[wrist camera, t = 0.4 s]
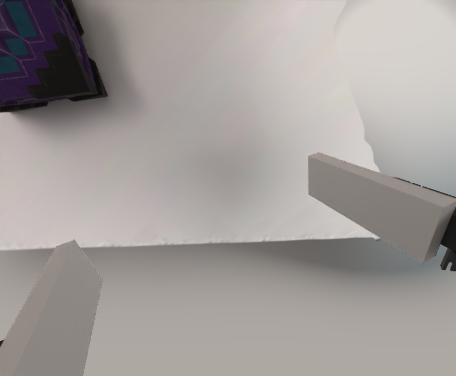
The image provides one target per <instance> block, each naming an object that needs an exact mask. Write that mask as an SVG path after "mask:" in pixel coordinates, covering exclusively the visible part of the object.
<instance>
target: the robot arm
mask: <svg viewBox="0 0 456 376" xmlns="http://www.w3.org/2000/svg"><path fill="white" fill-rule="evenodd" d="M308 172H309V195H311V196H312V197H314V198H316V199H317V200H319V201H320V202H322V203H324V204H325V205H327V206H329V207H330V208H332V209H334V210H335V211H337V212H339V213H340V214H342V215H344V216H345V217H347V218H349V219H350V220H352V221H353V222H355V223H357V224H358V225H360V226H362V227H363V228H365V229H367V230H368V231H370V232H372V233H373V234H375V235H377V236H378V237H380V238H382V239H383V240H385V241H386V242H388V243H390V244H392V245H393V246H395V247H396V248H398V249H400V250H401V251H403V252H405V253H406V254H408V255H410V256H411V257H413V258H415V259H416V260H418V261H419V262H421V263H424V262H426V261H428V260H429V259H431V258H432V257H434V256H436V254H437V251H438V249H439V246H440V244H441V245H443V246H445V247H447V248H448V249H447V251H446V254H445V256H444V258H443V261H442V263H441V265H440V266H441V269H442V270H446V268H447V265H448V263H449V262H452V266H451V268H450V270H451V271H456V197H454V196H451V195H448V194H445V193H442V192H439V191H436V190H433V189H430V188H427V187H424V186H423V187H421V186H420V185H418V184H415V183H410V182H409V181H405V180H403V179H400V178H395V177H390V176H387V175H384V174H381V173H378V172H375V171H372V170H369V169H366V168H363V167H360V166H357V165H354V164H351V163H348V162H345V161H342V160H339V159H336V158H334V157H331V156H328V155H325V154H322V153H316V154H313V155H310V156H308ZM102 281H103V278H102V277H101V275H100V274H99V273H98V271H97V270H96V268H95V267H94V266H93V264H92V263H91V262H90V261H89V259H88V258H87V256H86V255H85V254H84V252H83V251H82V249H81V248H80V247H79V245H78V244H77V243H76V241H75V240H73V241H70V242H67V243H65V244H62V245H59V246H56V248H55V250H54V251H53V253H52V255H51V257H50V258H49V260H48V262H47V264H46V266H45V267H44V269H43V271H42V273H41V275H40V277H39V278H38V280H37V282H36V284H35V285H34V287H33V289H32V291H31V293H30V295H29V296H28V298H27V300H26V302H25V304H24V305H23V307H22V309H21V311H20V313H19V315H18V316H17V318H16V320H15V322H14V323H13V325H12V327H11V329H10V331H9V332H8V334H7V336H6V338H5V340H2V341H0V376H83V373H84V368H85V363H86V358H87V354H88V348H89V344H90V339H91V334H92V330H93V325H94V320H95V315H96V310H97V305H98V300H99V296H100V290H101V286H102Z"/></svg>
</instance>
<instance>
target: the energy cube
mask: <svg viewBox="0 0 456 376" xmlns="http://www.w3.org/2000/svg"><path fill="white" fill-rule="evenodd" d="M83 33H84V31H83V29H82V26H81V24H80V21H79V18H78V16H77V13H76V10H75V8H74V5H73V2H72V0H0V112H12V111H18V110H25V109H31V108H37V107H43V106H47V105H48V101H54V100H61V99H69V100H71V101H81V100H87V99H94V98H100V97H106V96H107V93H106V90H105V88H104V85H103V82H102V80H101V77H100V74H99V72H98V69H97V66H96V63H95V62H94V61H93V60H92V59H90V58H89V57H88V54H87V52H86V49H85V47H84V44H83V41H82V39H81V35H82V34H83Z"/></svg>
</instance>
